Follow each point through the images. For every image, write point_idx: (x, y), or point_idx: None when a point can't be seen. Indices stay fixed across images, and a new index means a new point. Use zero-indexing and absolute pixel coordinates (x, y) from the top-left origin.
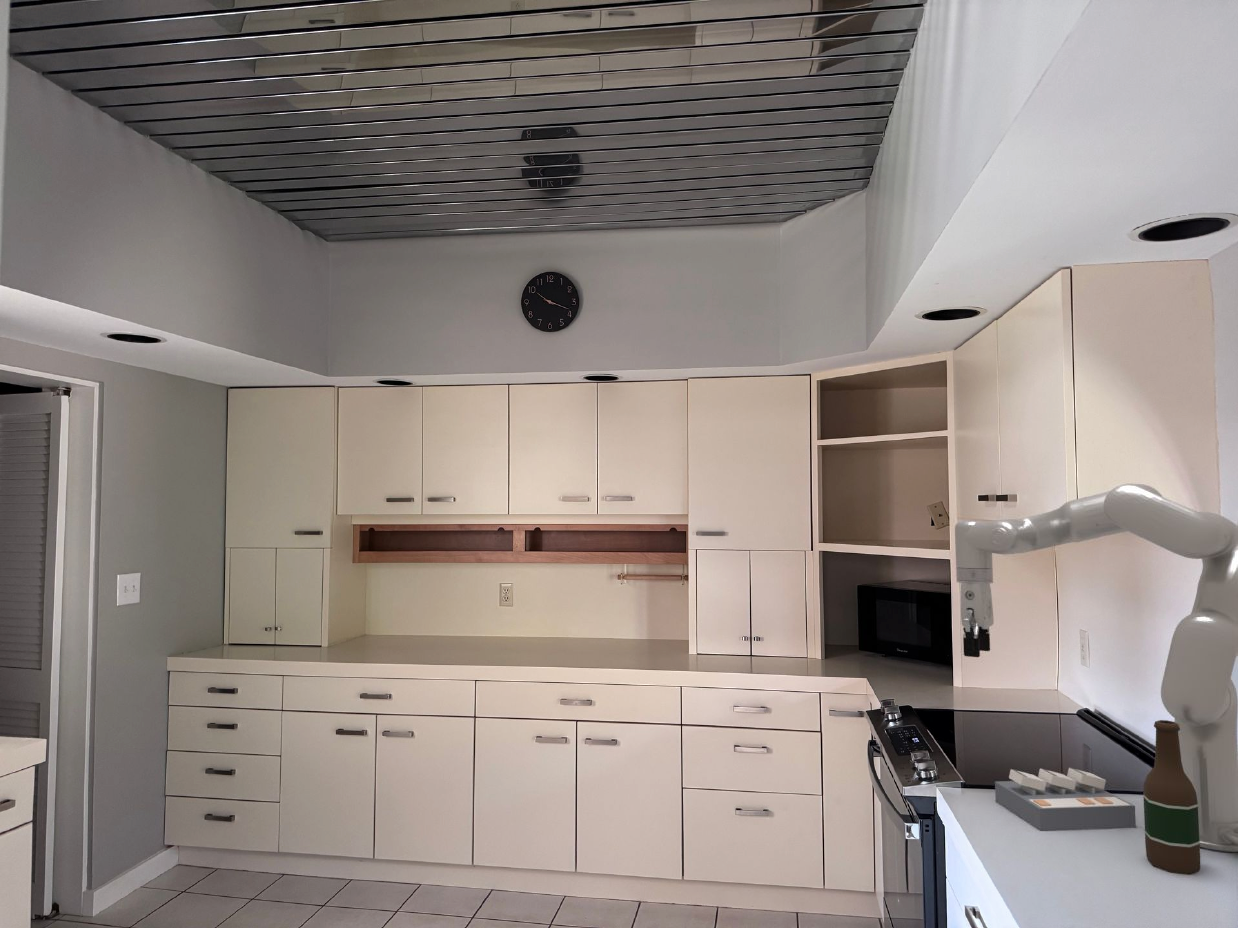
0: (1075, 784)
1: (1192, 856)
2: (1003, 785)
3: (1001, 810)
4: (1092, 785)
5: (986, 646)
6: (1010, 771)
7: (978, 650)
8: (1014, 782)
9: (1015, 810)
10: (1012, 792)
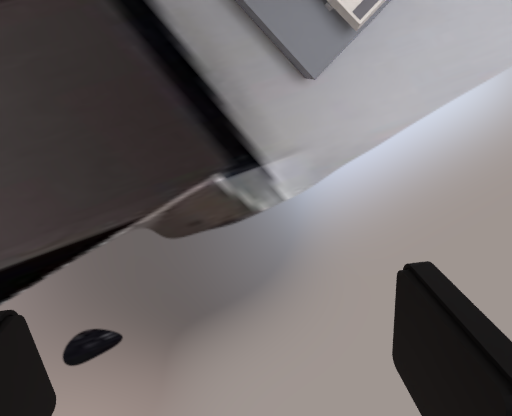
0: None
1: None
2: (332, 52)
3: (358, 48)
4: None
5: (4, 354)
6: (358, 25)
7: (459, 296)
8: (292, 37)
9: None
10: (374, 17)
